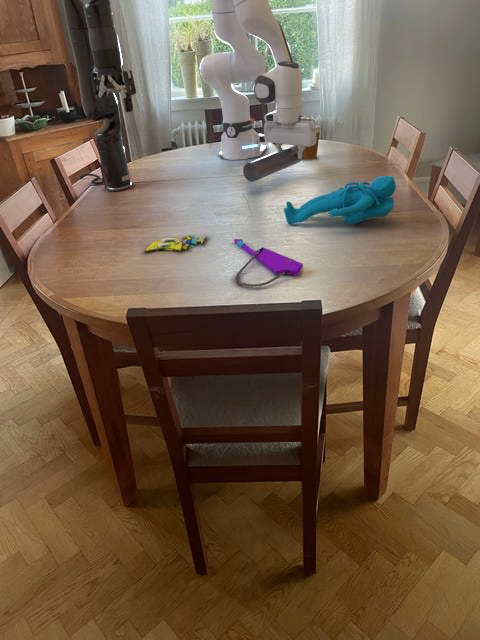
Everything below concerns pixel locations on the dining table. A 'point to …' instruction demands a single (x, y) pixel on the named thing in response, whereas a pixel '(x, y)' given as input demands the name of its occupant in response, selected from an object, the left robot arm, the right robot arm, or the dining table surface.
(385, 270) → the dining table surface
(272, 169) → the rod
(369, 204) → the toy
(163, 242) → the toy
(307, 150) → the cup of beer
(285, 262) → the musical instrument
